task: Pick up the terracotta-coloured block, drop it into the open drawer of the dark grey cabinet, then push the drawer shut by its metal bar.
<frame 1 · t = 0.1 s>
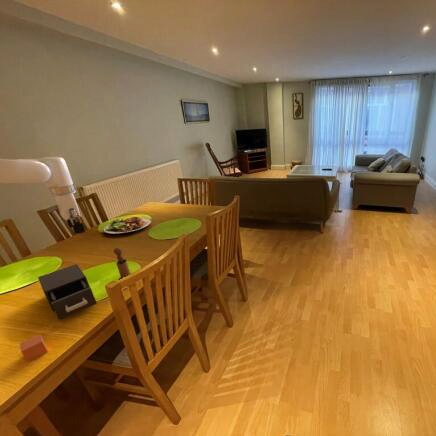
hand: (77, 229, 99), 27 cm above the table, tool pointing down, fingers open, 9 cm apart
block: (36, 352, 77), on the table
wooden pepper mill: (128, 282, 110), on the table
plate of food: (129, 227, 166), on the table
dark grey cabinet: (70, 295, 102), on the table
drawer: (72, 298, 93), point 5 cm above the table, slide at 8.0 cm
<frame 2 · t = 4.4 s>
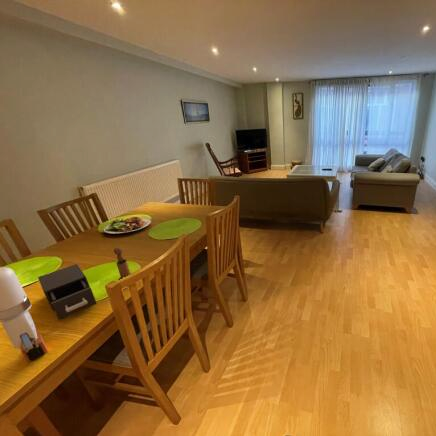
hand: (36, 351, 77), 0 cm above the table, tool pointing down, fingers closed on block, 4 cm apart
block: (36, 352, 77), on the table, touching gripper
everything else where it was.
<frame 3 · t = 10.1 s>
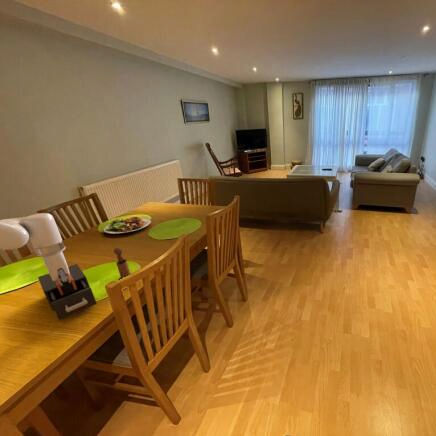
hand: (67, 289, 92), 9 cm above the table, tool pointing down, fingers closed on block, 4 cm apart
block: (68, 289, 92), point 9 cm above the table, touching gripper
everything else where it was.
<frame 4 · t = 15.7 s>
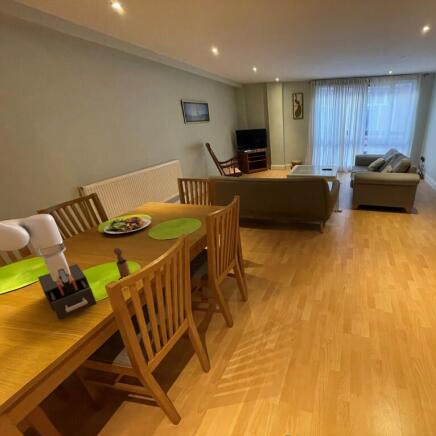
hand: (68, 289, 92), 9 cm above the table, tool pointing down, fingers closed on block, 4 cm apart
block: (69, 290, 92), point 8 cm above the table, touching gripper
everything else where it was.
when the fingers open (11 cm above the table, at t = 20.4 s): block drops 9 cm, resting on drawer.
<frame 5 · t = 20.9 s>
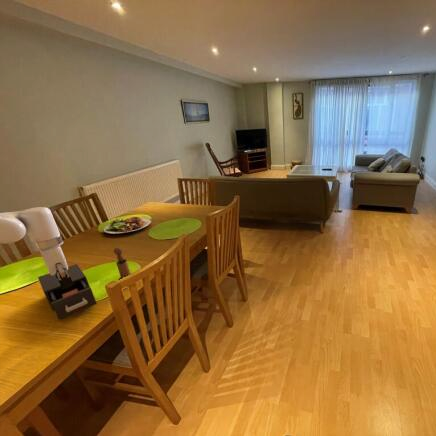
hand: (65, 281, 91), 12 cm above the table, tool pointing down, fingers open, 9 cm apart
block: (74, 303, 95), point 2 cm above the table, touching drawer
drawer: (72, 298, 93), point 5 cm above the table, slide at 8.0 cm, touching block
everything else where it was.
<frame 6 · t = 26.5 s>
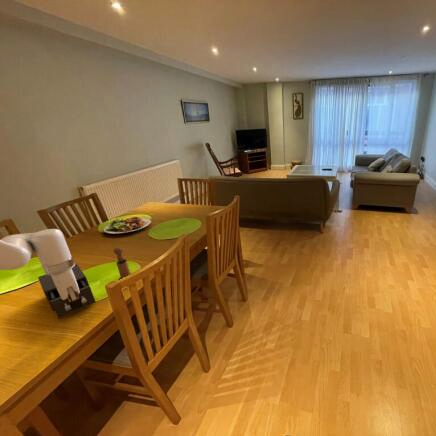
hand: (77, 307, 88), 6 cm above the table, tool pointing down, fingers closed
block: (73, 301, 96), point 2 cm above the table, touching drawer
drawer: (71, 296, 94), point 5 cm above the table, slide at 6.6 cm, touching block, gripper
everything else where it was.
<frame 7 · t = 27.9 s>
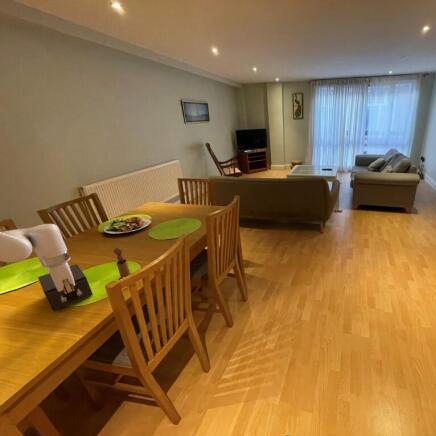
hand: (73, 299, 92), 6 cm above the table, tool pointing down, fingers closed
block: (70, 294, 99), point 2 cm above the table, touching drawer
drawer: (68, 289, 98), point 5 cm above the table, slide at 0.0 cm, touching block, dark grey cabinet, gripper
everything else where it was.
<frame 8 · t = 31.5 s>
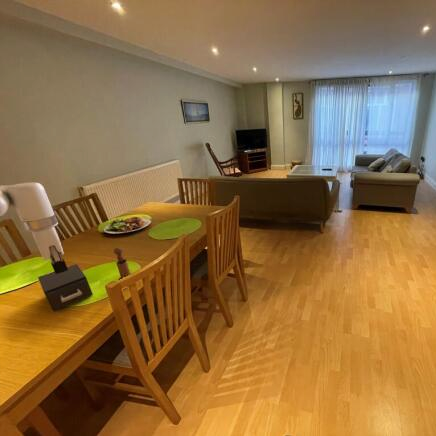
hand: (61, 271, 82), 21 cm above the table, tool pointing down, fingers closed
drawer: (68, 289, 98), point 5 cm above the table, slide at 0.0 cm, touching block, dark grey cabinet
everything else where it was.
at the end: block inside the target area in the dark grey cabinet (2.5 cm from its centre), point 2.0 cm above the dark grey cabinet's base; drawer slide at 0.0 cm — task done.
